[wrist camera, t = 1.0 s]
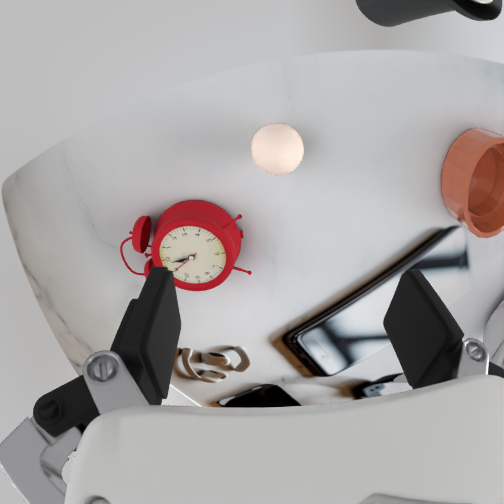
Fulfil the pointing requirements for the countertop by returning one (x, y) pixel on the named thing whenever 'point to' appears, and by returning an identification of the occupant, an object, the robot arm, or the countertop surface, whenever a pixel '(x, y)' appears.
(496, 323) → the decorative bowl
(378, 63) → the countertop surface
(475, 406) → the robot arm
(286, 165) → the egg
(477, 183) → the bowl
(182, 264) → the alarm clock
